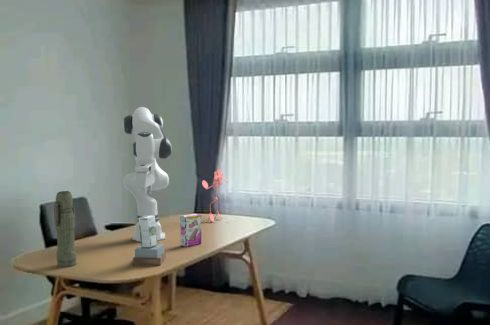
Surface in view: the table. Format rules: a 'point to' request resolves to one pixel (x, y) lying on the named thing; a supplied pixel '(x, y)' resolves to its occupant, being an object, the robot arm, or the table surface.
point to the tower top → (149, 251)
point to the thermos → (65, 229)
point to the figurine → (218, 181)
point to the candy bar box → (190, 230)
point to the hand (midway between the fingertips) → (146, 195)
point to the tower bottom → (149, 260)
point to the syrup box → (148, 231)
